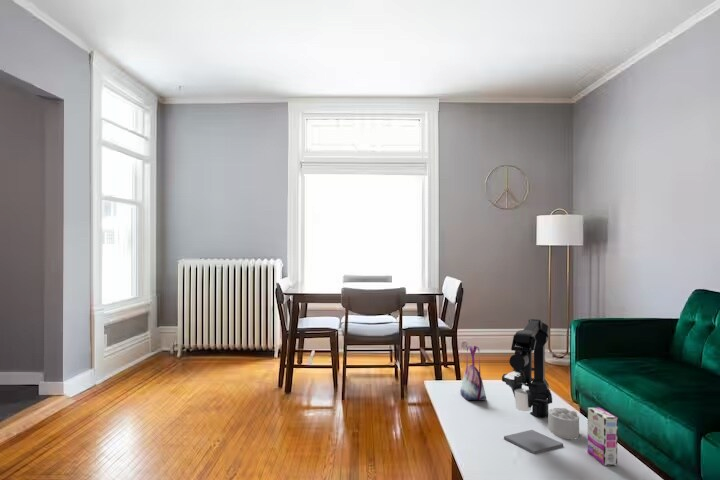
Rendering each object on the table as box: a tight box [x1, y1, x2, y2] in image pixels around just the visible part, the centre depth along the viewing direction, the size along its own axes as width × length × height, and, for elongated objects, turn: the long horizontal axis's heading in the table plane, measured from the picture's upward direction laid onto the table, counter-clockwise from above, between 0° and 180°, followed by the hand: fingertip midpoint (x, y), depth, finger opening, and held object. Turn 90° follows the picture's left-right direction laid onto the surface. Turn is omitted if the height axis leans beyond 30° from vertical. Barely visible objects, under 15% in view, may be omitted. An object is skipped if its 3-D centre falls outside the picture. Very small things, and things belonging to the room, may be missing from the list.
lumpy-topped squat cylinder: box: [547, 407, 580, 440], centre depth 193 cm, size 10×13×9 cm
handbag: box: [459, 345, 487, 401], centre depth 238 cm, size 21×10×25 cm, turn 6°
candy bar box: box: [586, 406, 619, 467], centre depth 170 cm, size 11×5×16 cm, turn 4°
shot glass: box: [514, 388, 532, 412], centre depth 189 cm, size 7×7×7 cm
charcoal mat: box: [503, 429, 564, 455], centre depth 183 cm, size 15×15×1 cm
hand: (523, 404), depth 189 cm, fingers closed on shot glass, 6 cm apart
